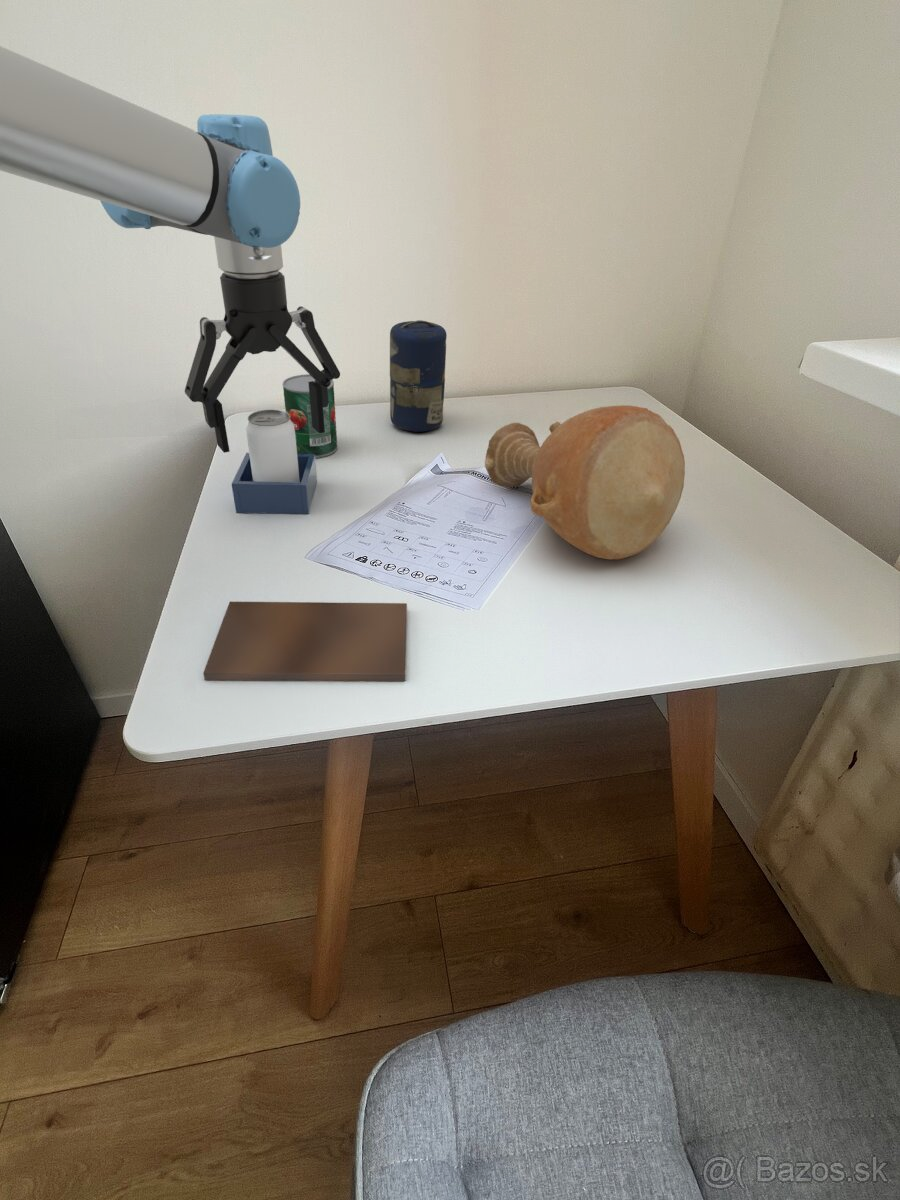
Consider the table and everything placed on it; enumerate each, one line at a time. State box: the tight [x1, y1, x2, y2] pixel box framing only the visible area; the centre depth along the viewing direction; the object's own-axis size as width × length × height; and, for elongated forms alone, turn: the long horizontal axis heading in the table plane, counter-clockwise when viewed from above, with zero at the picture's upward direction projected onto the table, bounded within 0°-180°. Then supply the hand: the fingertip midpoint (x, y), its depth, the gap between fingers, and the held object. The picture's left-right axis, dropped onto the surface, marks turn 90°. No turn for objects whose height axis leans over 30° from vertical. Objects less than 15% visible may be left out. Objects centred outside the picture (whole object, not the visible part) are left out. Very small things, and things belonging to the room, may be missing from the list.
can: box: [245, 409, 300, 482], centre depth 98 cm, size 6×6×12 cm
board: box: [202, 601, 408, 682], centre depth 75 cm, size 20×12×1 cm, turn 92°
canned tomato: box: [282, 373, 338, 459], centre depth 112 cm, size 8×8×11 cm
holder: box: [231, 452, 318, 515], centre depth 100 cm, size 10×10×4 cm
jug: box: [484, 404, 686, 560], centre depth 93 cm, size 20×19×30 cm
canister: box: [389, 319, 448, 433], centre depth 119 cm, size 10×10×18 cm
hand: (272, 439), depth 96 cm, fingers open, 13 cm apart
